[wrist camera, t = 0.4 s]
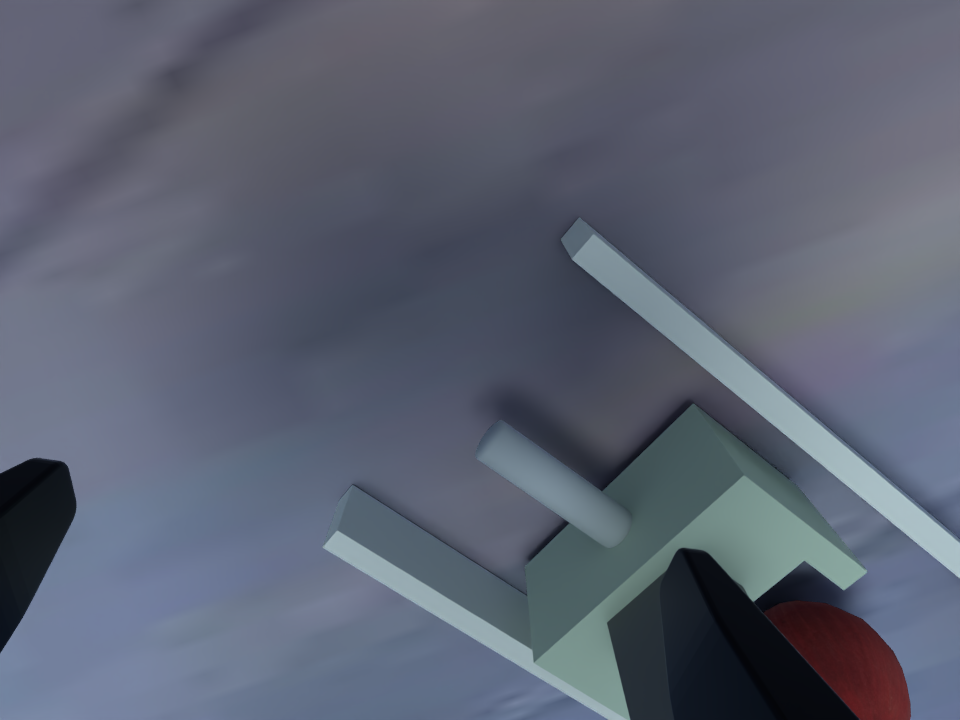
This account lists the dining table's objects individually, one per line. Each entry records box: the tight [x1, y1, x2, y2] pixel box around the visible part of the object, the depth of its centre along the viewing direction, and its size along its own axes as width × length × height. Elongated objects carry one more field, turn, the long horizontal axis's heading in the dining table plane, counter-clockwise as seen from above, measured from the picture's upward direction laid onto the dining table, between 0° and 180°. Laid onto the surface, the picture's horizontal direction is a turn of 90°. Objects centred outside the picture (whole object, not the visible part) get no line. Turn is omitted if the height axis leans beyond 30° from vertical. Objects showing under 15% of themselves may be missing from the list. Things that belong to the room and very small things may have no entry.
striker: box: [475, 403, 868, 720], centre depth 20 cm, size 10×12×11 cm
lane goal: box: [322, 217, 960, 720], centre depth 25 cm, size 15×34×7 cm, turn 51°
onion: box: [764, 600, 911, 720], centre depth 25 cm, size 6×6×8 cm
